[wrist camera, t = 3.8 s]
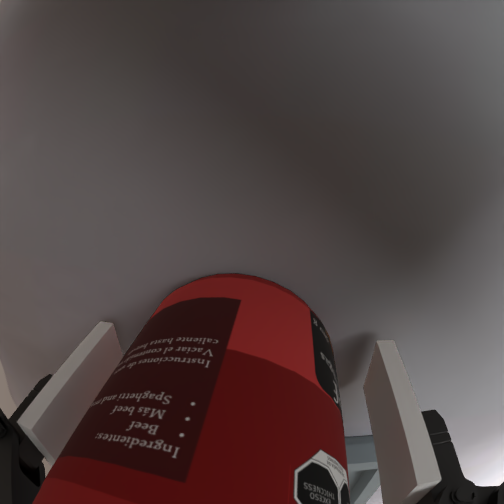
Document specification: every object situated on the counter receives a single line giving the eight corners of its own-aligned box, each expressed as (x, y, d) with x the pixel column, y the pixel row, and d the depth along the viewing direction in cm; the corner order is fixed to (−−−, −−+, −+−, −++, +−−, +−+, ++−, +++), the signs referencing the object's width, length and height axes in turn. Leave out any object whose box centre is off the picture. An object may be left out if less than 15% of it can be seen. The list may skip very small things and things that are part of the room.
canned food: (293, 416, 15) (279, 610, 5) (149, 371, 15) (59, 551, 4) (363, 302, 12) (433, 593, 2) (171, 240, 12) (-42, 487, 2)
